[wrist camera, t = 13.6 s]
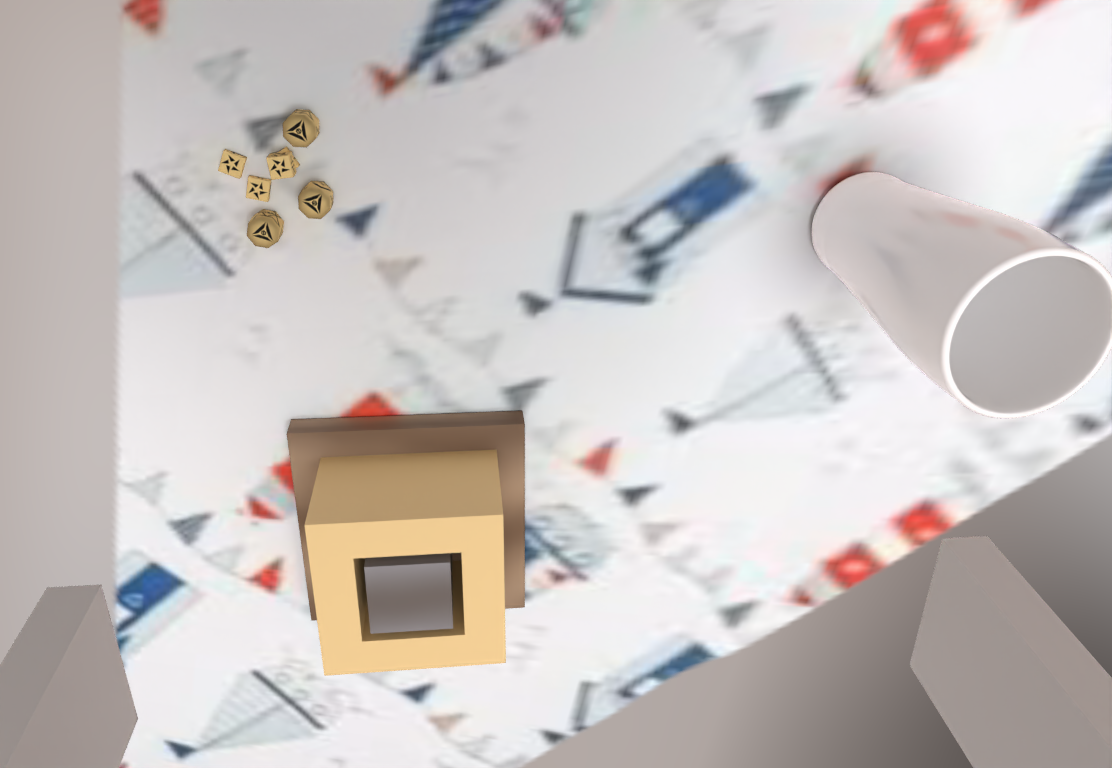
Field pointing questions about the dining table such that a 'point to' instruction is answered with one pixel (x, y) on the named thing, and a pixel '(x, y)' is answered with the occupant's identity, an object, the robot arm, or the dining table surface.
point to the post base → (420, 442)
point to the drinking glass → (969, 293)
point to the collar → (407, 529)
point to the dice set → (282, 164)
